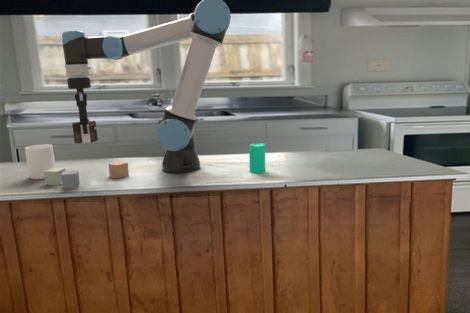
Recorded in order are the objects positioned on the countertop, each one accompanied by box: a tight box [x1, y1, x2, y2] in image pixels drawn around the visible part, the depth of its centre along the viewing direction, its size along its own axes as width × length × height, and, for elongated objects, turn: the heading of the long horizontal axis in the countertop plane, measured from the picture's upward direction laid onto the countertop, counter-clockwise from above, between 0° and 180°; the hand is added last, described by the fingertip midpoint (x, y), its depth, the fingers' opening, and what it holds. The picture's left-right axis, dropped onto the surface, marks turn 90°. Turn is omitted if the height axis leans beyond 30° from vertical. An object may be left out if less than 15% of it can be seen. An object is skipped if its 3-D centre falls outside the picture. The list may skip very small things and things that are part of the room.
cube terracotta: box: [108, 161, 130, 179], centre depth 154 cm, size 5×5×5 cm
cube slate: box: [61, 169, 81, 190], centre depth 142 cm, size 5×5×5 cm
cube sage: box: [44, 167, 66, 186], centre depth 147 cm, size 5×5×5 cm
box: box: [71, 120, 99, 144], centre depth 147 cm, size 6×6×7 cm
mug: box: [24, 143, 56, 180], centre depth 157 cm, size 10×12×12 cm
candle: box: [248, 142, 266, 174], centre depth 155 cm, size 6×6×12 cm
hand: (86, 140), depth 148 cm, fingers closed on box, 8 cm apart
